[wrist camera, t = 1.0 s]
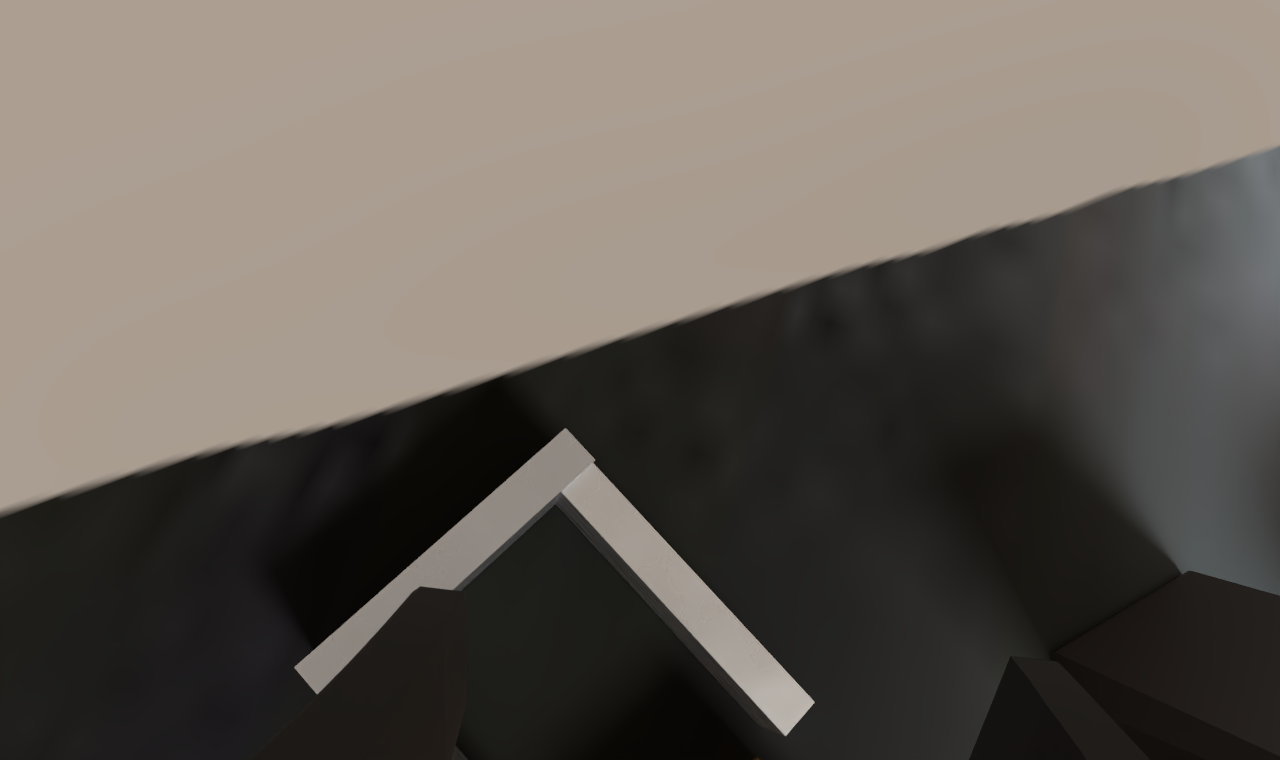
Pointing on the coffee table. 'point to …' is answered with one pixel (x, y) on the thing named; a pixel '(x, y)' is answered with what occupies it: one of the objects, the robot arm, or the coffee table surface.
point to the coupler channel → (626, 546)
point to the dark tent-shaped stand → (1188, 670)
